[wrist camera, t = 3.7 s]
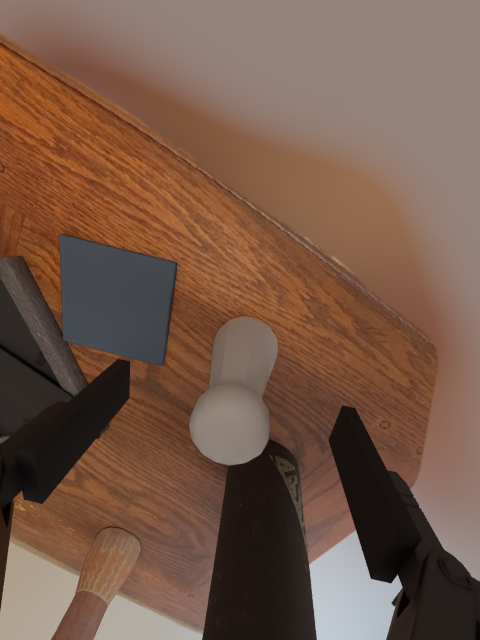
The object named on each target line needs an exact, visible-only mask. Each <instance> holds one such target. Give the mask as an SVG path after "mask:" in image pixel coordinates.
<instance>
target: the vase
mask: <svg viewBox="0 0 480 640" xmlns="http://www.w3.org/2000/svg"><path fill="white" fill-rule="evenodd" d="M140 552H141V547H140V542H139V540H138V539H137V538H136V537H135V536H134V535H133V534H131V533H129V532H127V531H125V530H123V529H120V528H114V527H109V528H106V529H102V530H100V532H99V533H98V534H97V536H96V537H95V540H94V542H93V544H92V546H91V548H90V550H89V552H88V555H87V557H86V559H85V562H84V565H83V568H82V571H81V575H80V578H79V582H78V586H77V590H76V593H75V596H74V598H73V600H72V603H71V604H70V606H69V608H68V610H67V612H66V613H65V615H64V617H63V619H62V621H61V623H60V624H59V626H58V628H57V630H56V632H55V634H54V636H53V637H52V639H51V640H93V639H94V637H95V634H96V632H97V630H98V627H99V625H100V622H101V620H102V618H103V616H104V614H105V611H106V609H107V607H108V605H109V604H110V602H111V600H112V599H113V598H114V596H115V595H116V593H117V592H118V590H119V589H120V588H121V586H122V585H123V583H124V582H125V581H126V579H127V577H128V576H129V574H130V572H131V571H132V569H133V567H134V565H135V563H136V561H137V559H138V556H139V554H140Z"/></svg>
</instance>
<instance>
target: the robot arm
mask: <svg viewBox="0 0 480 640" xmlns="http://www.w3.org/2000/svg"><path fill="white" fill-rule="evenodd" d="M129 391H130V361H125V360H120V359H117V360H116V361H115V362H114V363H113V364H112V365H111V366H109V367H108V368H107V369H106V370H105V371H104V372H102V373H101V374H100V375H99V376H98V377H97V378H95V379H94V380H93V381H92V382H91V383H90V384H88V385H87V386H86V387H85V388H84V389H83V390H81V391H80V392H79V393H78V394H77V395H76V396H74V397H73V398H72V399H71V400H70V401H69V402H67V403H66V402H62V401H58V402H56V403H54V404H52V405H50V406H48V407H46V408H45V409H44V410H43V411H41V412H40V413H39V414H38V415H37V416H36V417H34V418H33V419H31V420H30V421H29V422H28V424H25V425H24V426H23V427H21V428H20V429H19V430H17V431H16V432H15V433H14V434H12V435H11V436H10V437H9V438H7V439H6V440H5V441H4V442H2V443H0V608H1V601H2V593H3V586H4V578H5V570H6V563H7V554H8V547H9V539H10V532H11V524H12V516H13V509H14V501H13V499H14V498H15V497H16V496H17V495H18V494H19V492H20V491H21V490H22V492H23V497H24V500H28V501H32V502H37V503H41V504H43V502H44V501H45V500H46V499H47V498H48V496H49V495H50V494H51V493H52V492H53V490H54V489H55V488H56V487H57V485H58V484H59V483H60V482H61V481H62V479H63V478H64V477H65V476H66V474H67V473H68V472H69V471H70V470H71V468H72V467H73V466H74V465H75V464H76V462H77V461H78V460H79V459H80V457H81V456H82V455H83V454H84V453H85V451H86V450H87V449H88V448H89V446H90V445H91V444H92V443H93V442H94V440H95V439H96V438H97V437H98V436H99V434H100V433H101V432H102V431H103V429H104V428H105V427H106V426H107V425H108V423H109V422H110V421H111V420H112V419H113V417H114V416H115V415H116V414H117V412H118V411H119V410H120V409H121V408H122V406H123V405H124V404H125V403H126V401H127V400H128V399H129ZM329 443H330V446H331V449H332V453H333V456H334V459H335V463H336V466H337V469H338V472H339V476H340V479H341V482H342V485H343V489H344V492H345V495H346V498H347V502H348V505H349V508H350V511H351V515H352V518H353V521H354V525H355V528H356V531H357V534H358V537H359V541H360V544H361V547H362V551H363V554H364V557H365V560H366V564H367V567H368V570H369V573H370V577H371V579H374V580H379V581H384V582H388V583H392V581H393V580H394V579H395V577H396V576H397V574H398V576H399V579H400V581H401V584H402V587H403V588H402V589H401V591H400V592H399V593H398V595H397V596H396V597H395V599H394V600H393V602H392V604H393V605H394V606H395V605H396V607H395V610H394V614H393V618H392V621H391V625H390V629H389V632H388V635H387V639H386V640H480V581H477V580H476V579H474V578H472V577H471V575H470V573H469V572H468V571H467V569H466V568H465V567H464V566H463V564H462V563H461V562H459V561H458V560H457V559H456V558H455V557H454V556H453V555H451V554H450V553H448V552H446V551H445V550H444V549H443V547H442V545H441V544H440V542H439V540H438V538H437V537H436V535H435V533H434V531H433V530H432V528H431V526H430V524H429V523H428V521H427V519H426V517H425V515H424V514H423V512H422V510H421V509H420V508H419V505H418V503H417V501H416V499H415V498H414V497H413V494H412V492H411V491H410V489H409V487H408V485H407V484H406V482H405V481H404V480H403V479H402V478H401V477H400V476H399V475H398V474H397V472H392V471H388V470H387V469H386V467H385V465H384V463H383V461H382V459H381V457H380V456H379V454H378V452H377V450H376V448H375V446H374V444H373V442H372V440H371V438H370V436H369V434H368V432H367V430H366V428H365V426H364V424H363V422H362V420H361V419H360V417H359V415H358V413H357V411H356V409H355V408H353V407H348V406H343V405H342V408H341V410H340V413H339V415H338V418H337V420H336V423H335V425H334V428H333V430H332V433H331V435H330V438H329Z"/></svg>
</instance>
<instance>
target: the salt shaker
mask: <svg viewBox="0 0 480 640" xmlns="http://www.w3.org/2000/svg"><path fill="white" fill-rule="evenodd" d="M277 355H278V340H277V338H276V336H275V335H274V333H273V331H272V330H271V328H270V327H269V326H268V325H267V324H265V323H264V322H263V321H261V320H260V319H258V318H253V317H247V316H242V317H238V318H233V319H230V320H229V321H228V322H227V323H225V324H224V325H223V326H222V327H221V328H220V329H219V330H218V332H217V334H216V337H215V339H214V342H213V352H212V362H211V372H210V381H209V389H208V390H207V391H206V392H204V393H203V394H202V395H201V396H200V397H199V399H198V401H197V403H196V405H195V407H194V410H193V412H192V414H191V417H190V423H189V429H190V434H191V439H192V441H193V442H194V444H195V445H196V446H197V448H198V449H199V450H200V452H201V453H202V454H203V455H204V456H206V457H208V458H209V459H211V460H213V461H214V462H217V463H222V464H226V465H235V464H242V463H246V462H248V461H250V460H251V459H253V458H255V457H257V456H258V455H260V454H261V453H262V451H263V449H264V448H265V446H266V444H267V442H268V438H269V434H270V422H269V410H268V408H267V406H266V405H265V403H264V401H263V400H262V396H263V393H264V391H265V388H266V385H267V382H268V380H269V377H270V374H271V371H272V368H273V366H274V363H275V360H276V357H277Z"/></svg>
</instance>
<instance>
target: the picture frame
mask: <svg viewBox="0 0 480 640" xmlns="http://www.w3.org/2000/svg"><path fill="white" fill-rule="evenodd" d="M87 385H88V383H87V381H86V379H85V377H84V375H83V373H82V371H81V369H80V368H79V366H78V364H77V362H76V360H75V358H74V356H73V354H72V352H71V350H70V348H69V346H68V344H67V342H66V341H63V335H62V333H61V331H60V329H59V327H58V325H57V323H56V321H55V319H54V317H53V315H52V313H51V311H50V309H49V307H48V305H47V304H46V302H45V300H44V298H43V296H42V294H41V292H40V290H39V288H38V286H37V284H36V282H35V280H34V278H33V276H32V274H31V273H30V271H29V269H28V267H27V265H26V263H25V261H24V259H23V257H22V256H16V257H6V258H2V259H0V443H2V442H4V441H5V440H6V439H7V438H9V437H10V436H11V435H12V434H14V433H15V432H16V431H17V430H19V429H20V428H21V427H23V426H24V425H25V424H28V422H29V421H30V420H31V419H33V418H34V417H36V416H37V415H38V414H39V413H40V412H41V411H43V410H44V409H45V408H46V407H48V406H50V405H52V404H54V403H56V402H58V401H62V402H66V403H67V402H69V401H70V400H71V399H72V398H73V397H74V396H76V395H77V394H78V393H79V392H80V391H81V390H83V389H84V388H85V387H86V386H87ZM108 427H109V424H108V425H107V426H106V427H105V428H104V429H103V431H102V432H101V433H100V434H99V436H98V437H97V438H100V436H101V435H102V434H103V433H104V432H105V431H106V429H107V428H108ZM97 438H96V439H97Z"/></svg>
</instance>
